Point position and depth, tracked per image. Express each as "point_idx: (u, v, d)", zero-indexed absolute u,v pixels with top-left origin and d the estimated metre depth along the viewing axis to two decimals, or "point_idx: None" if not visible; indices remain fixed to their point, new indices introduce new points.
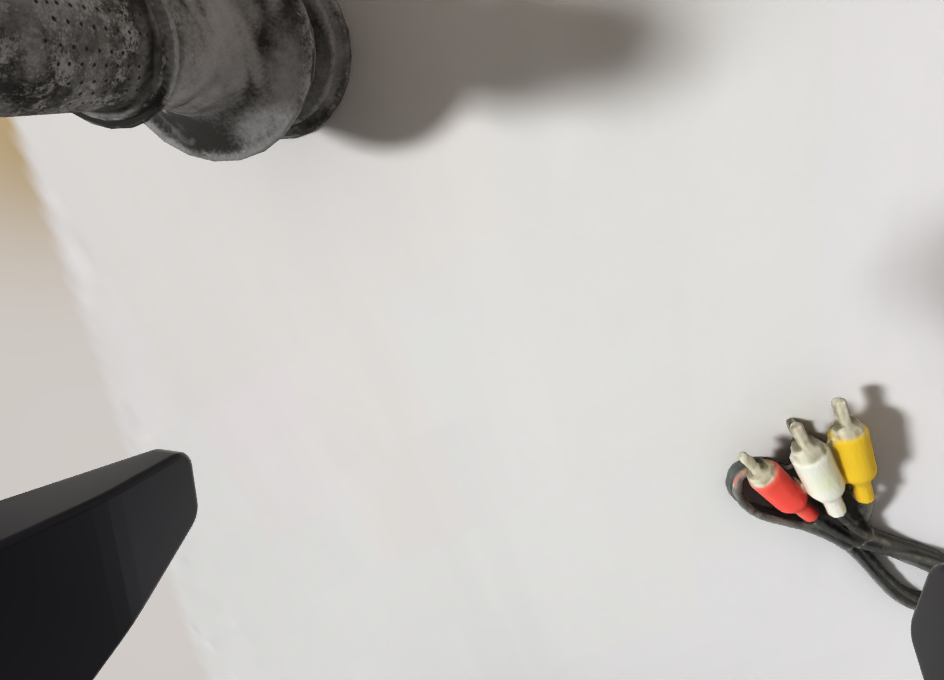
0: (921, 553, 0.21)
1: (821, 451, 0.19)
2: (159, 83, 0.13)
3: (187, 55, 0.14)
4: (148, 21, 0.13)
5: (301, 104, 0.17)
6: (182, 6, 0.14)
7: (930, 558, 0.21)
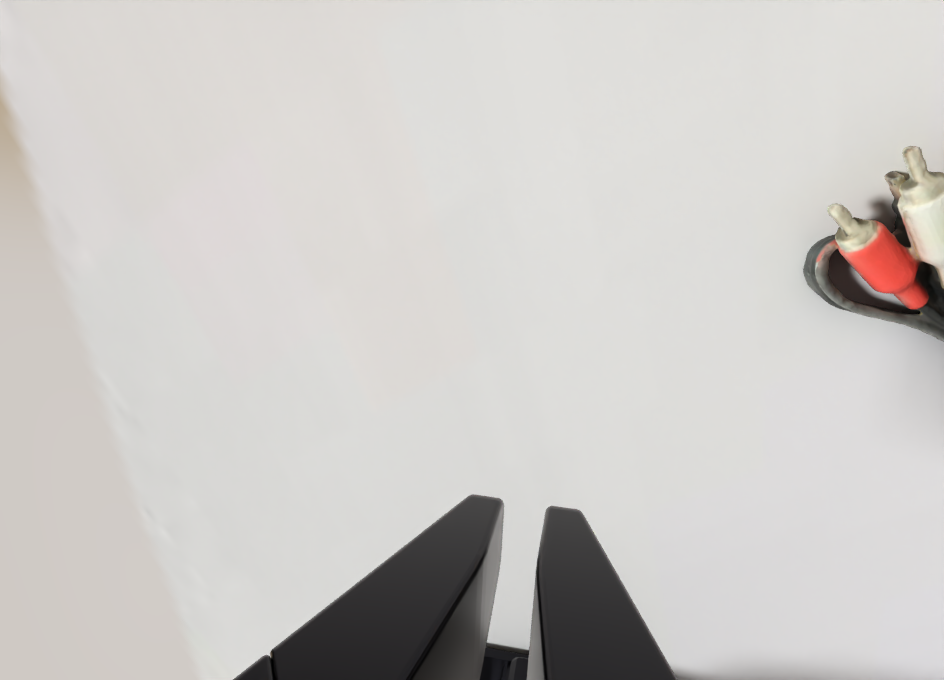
0: None
1: None
2: None
3: None
4: None
5: None
6: None
7: None
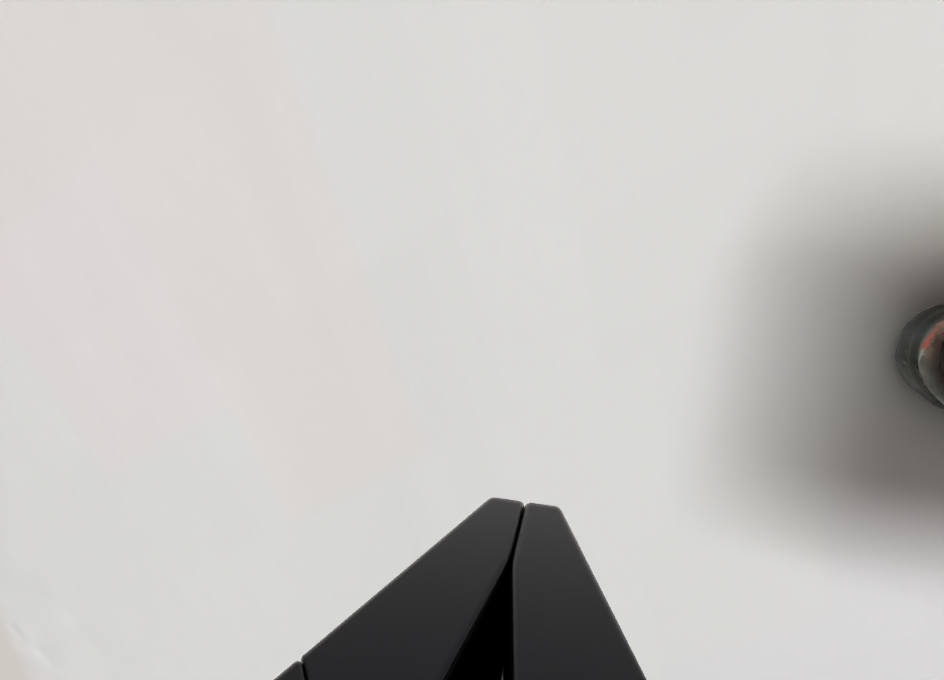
0: None
1: None
2: None
3: None
4: None
5: None
6: None
7: None
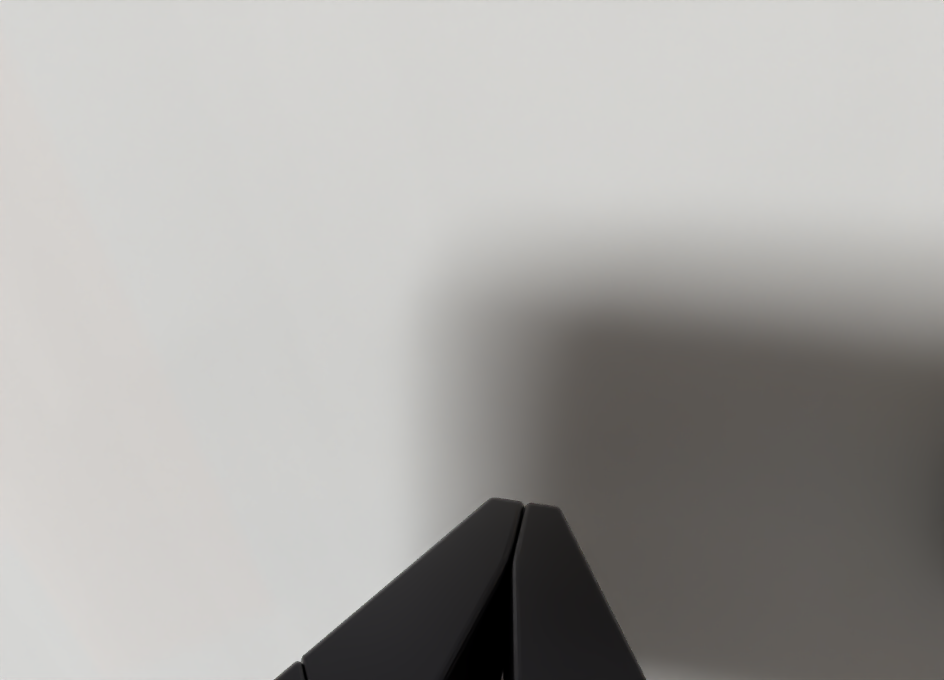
0: None
1: None
2: None
3: None
4: None
5: None
6: None
7: None
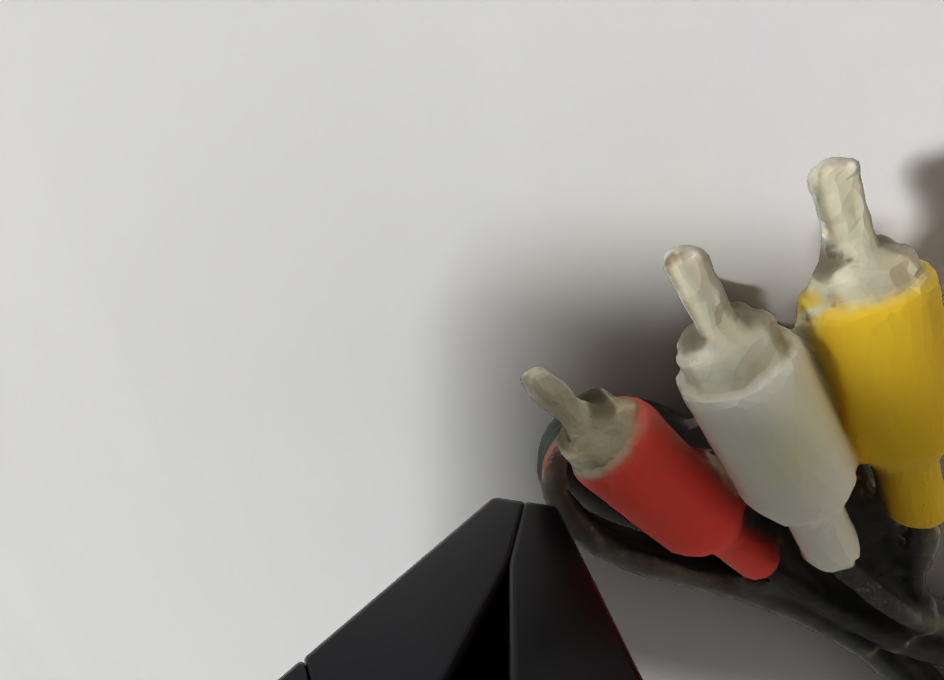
0: None
1: (773, 346, 0.05)
2: None
3: None
4: None
5: None
6: None
7: None
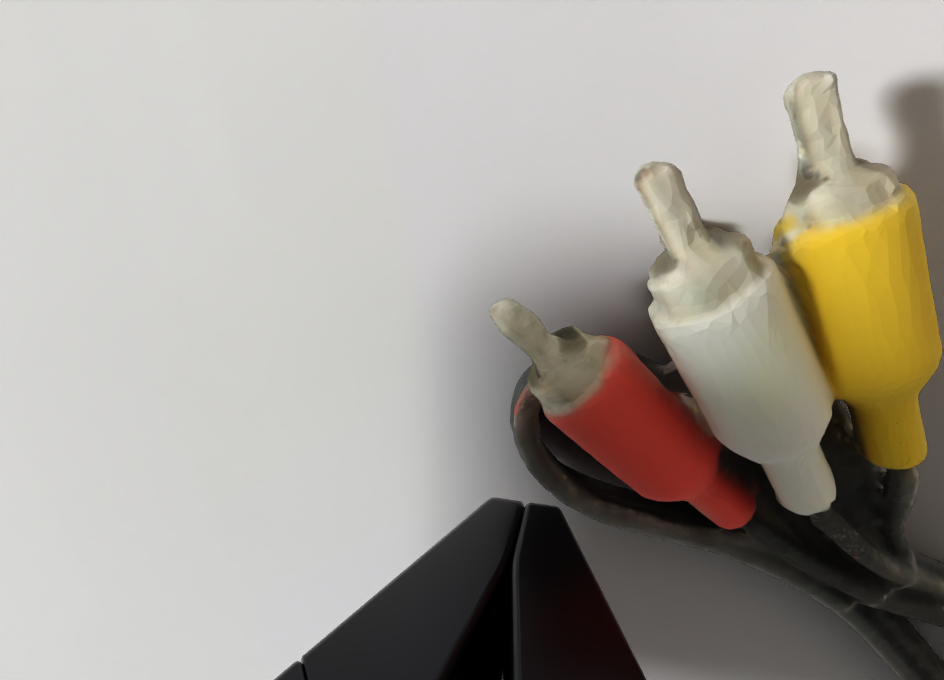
0: None
1: (746, 266, 0.05)
2: None
3: None
4: None
5: None
6: None
7: None
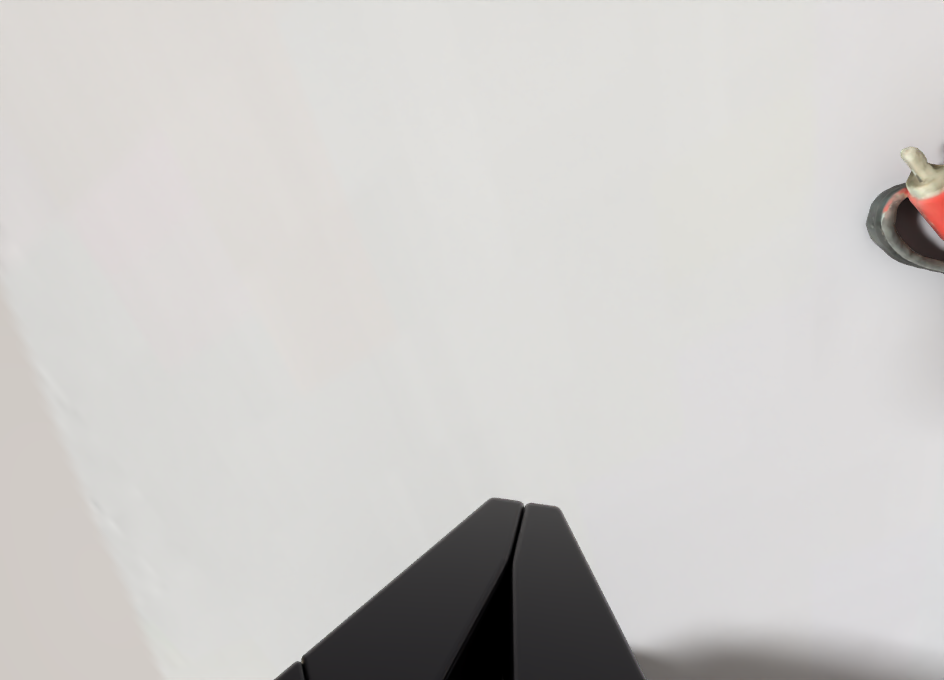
0: None
1: None
2: None
3: None
4: None
5: None
6: None
7: None
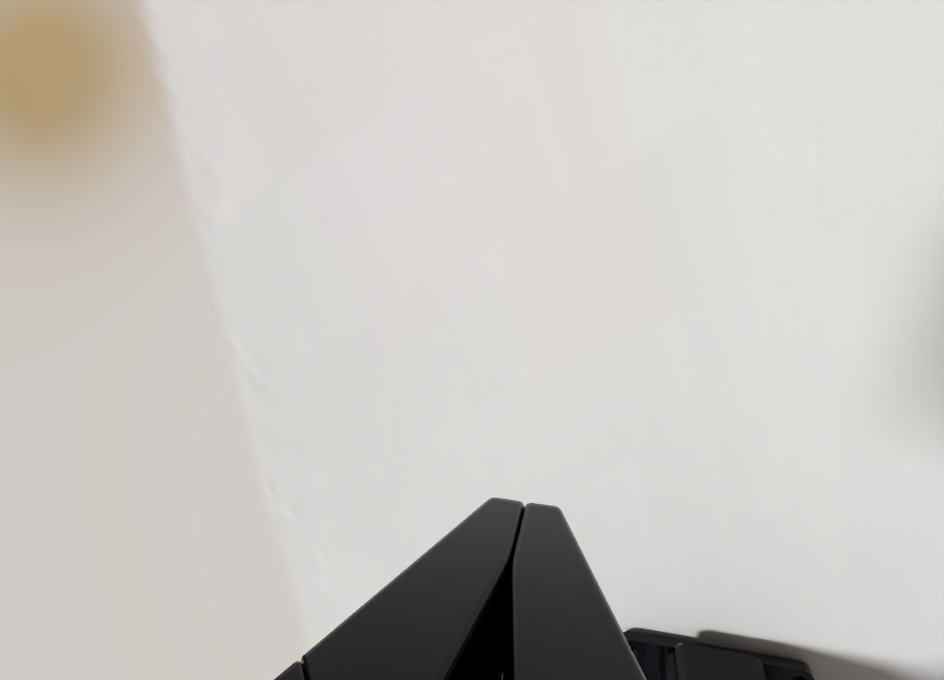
0: None
1: None
2: None
3: None
4: None
5: None
6: None
7: None
